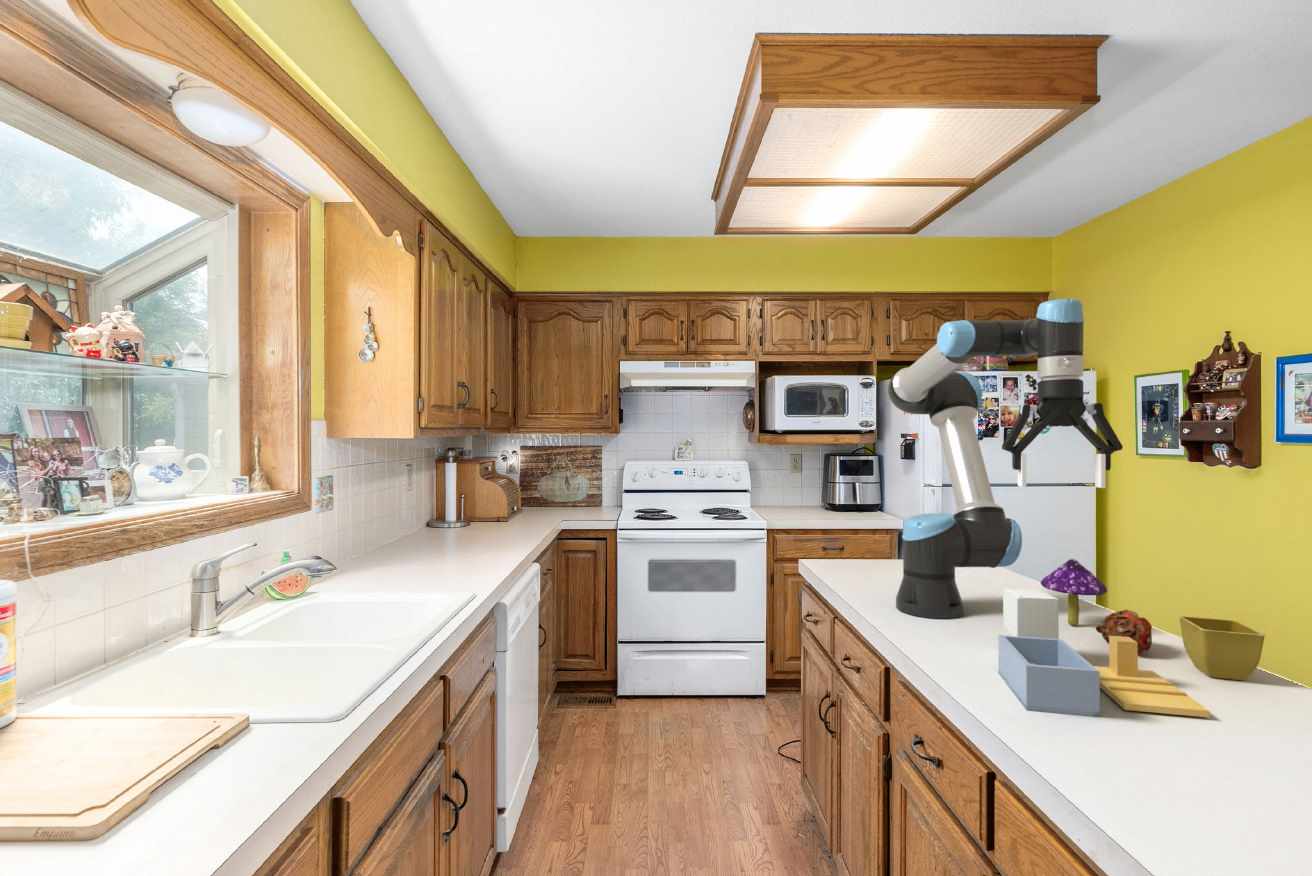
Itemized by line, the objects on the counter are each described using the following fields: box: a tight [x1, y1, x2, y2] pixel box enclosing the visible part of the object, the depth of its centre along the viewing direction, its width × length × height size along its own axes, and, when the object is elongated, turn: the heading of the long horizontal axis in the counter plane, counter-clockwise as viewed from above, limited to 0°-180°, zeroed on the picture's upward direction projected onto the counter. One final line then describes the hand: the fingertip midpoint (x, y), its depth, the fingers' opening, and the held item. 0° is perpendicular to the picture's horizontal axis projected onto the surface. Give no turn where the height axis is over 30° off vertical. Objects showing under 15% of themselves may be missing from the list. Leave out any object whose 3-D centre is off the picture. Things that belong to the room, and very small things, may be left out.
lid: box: [1093, 636, 1210, 718], centre depth 101 cm, size 16×11×8 cm
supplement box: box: [1002, 588, 1060, 639], centre depth 118 cm, size 7×7×13 cm
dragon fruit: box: [1095, 609, 1153, 652], centre depth 122 cm, size 8×8×12 cm
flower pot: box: [1178, 615, 1266, 681], centre depth 109 cm, size 9×9×9 cm
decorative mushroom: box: [1040, 558, 1108, 627], centre depth 137 cm, size 12×12×15 cm
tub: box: [997, 634, 1101, 718], centre depth 102 cm, size 15×10×7 cm, turn 165°
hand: (1060, 487), depth 120 cm, fingers open, 13 cm apart
